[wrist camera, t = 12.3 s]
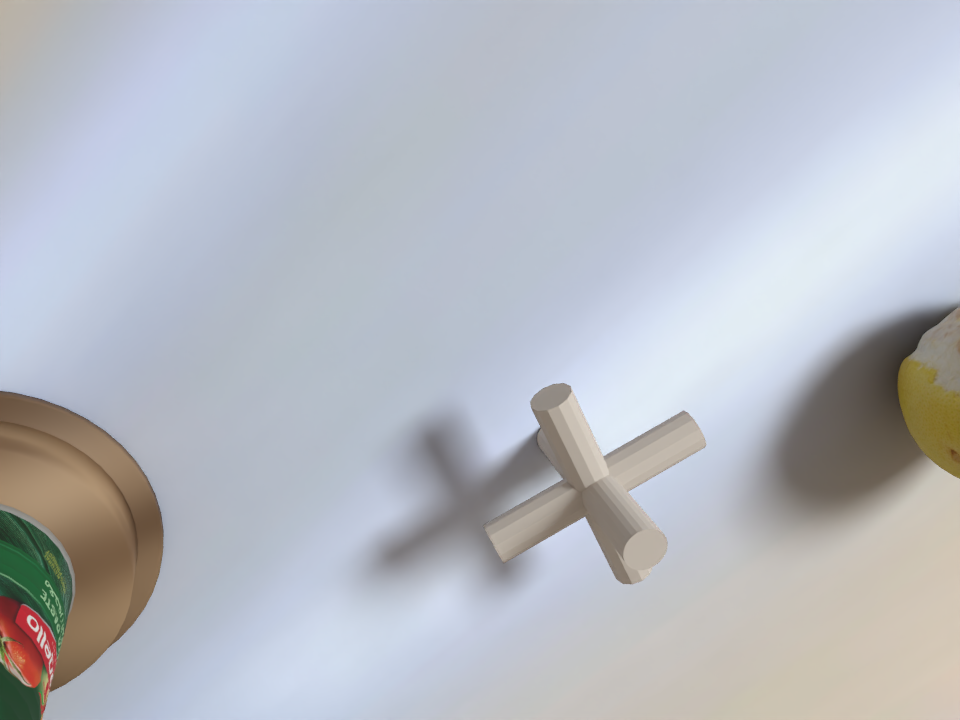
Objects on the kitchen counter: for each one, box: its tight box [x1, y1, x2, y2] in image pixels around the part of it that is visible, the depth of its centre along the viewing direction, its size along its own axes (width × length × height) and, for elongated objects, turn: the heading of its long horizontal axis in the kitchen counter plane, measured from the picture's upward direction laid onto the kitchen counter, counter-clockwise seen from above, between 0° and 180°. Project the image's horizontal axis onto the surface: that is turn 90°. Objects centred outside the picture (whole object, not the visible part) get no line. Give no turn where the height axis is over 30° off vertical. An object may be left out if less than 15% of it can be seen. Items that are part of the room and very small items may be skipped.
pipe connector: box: [483, 383, 706, 584], centre depth 37 cm, size 10×10×10 cm
